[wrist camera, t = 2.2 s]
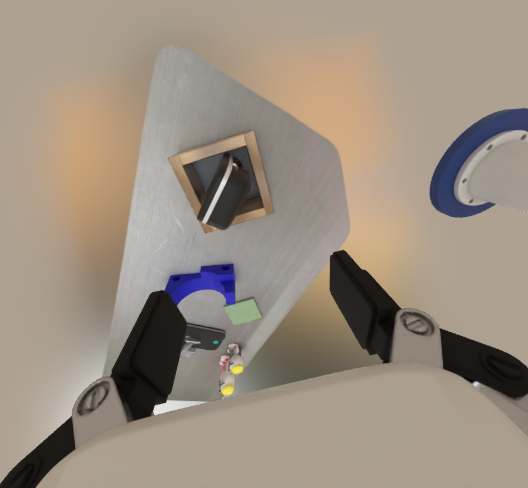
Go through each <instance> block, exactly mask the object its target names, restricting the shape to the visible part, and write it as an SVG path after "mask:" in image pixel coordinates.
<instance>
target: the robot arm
mask: <svg viewBox="0 0 528 488" xmlns="http://www.w3.org/2000/svg"><path fill="white" fill-rule="evenodd" d="M454 195H455V197H456V199H457V200H458V201H459V202H461V203H463V204H466V205H471V206H475V205H481V204H484V203H487V202H491V203H495V204H498V205H501V206H505V207H508V208H511V209H515V210H518V211H521V212H525V213H528V132H526V131H524V130H509V131H505V132H502V133H499V134H497V135H495V136H493V137H491V138H490V139H488V140H487V141H485V142H484V143H483V144H481V145H480V146H479V147H478V148H477V149H476V150H475V151H474V152H473V153H472V154H471V155H470V156H469V157H468V158H467V160H466V161H465V162H464V164H463V165H462V167H461V168H460V170H459V172H458V174H457V177H456V180H455V183H454ZM330 292H331V295H332V296H333V298H334V300H335V302H336V304H337V305H338V307H339V309H340V310H341V312H342V314H343V316H344V318H345V319H346V321H347V323H348V325H349V326H350V328H351V330H352V331H353V333H354V335H355V337H356V338H357V340H358V342H359V344H360V345H361V347H362V348H363V349H367V351H368V353H369V355H373V354H378V355H379V357H380V359H382V360H383V362H382V364H378V365H372V366H366V367H361V368H357V369H352V370H347V371H342V372H337V373H333V374H328V375H324V376H320V377H316V378H311V379H306V380H302V381H298V382H293V383H289V384H285V385H280V386H276V387H272V388H267V389H264V390H259V391H254V392H250V393H246V394H242V395H237V396H233V397H229V398H224V399H220V400H216V401H212V402H208V403H203V404H200V405H195V406H191V407H187V408H183V409H178V410H175V411H170V412H166V413H162V414H159V415H154V413H153V410H154V406H155V405H158V404H163V403H166V401H167V397H168V395H169V394H170V393H171V391H172V387H173V383H174V379H175V375H176V370H177V366H178V362H179V358H180V354H181V349H182V345H183V341H184V337H185V333H186V328H187V322H186V320H185V318H184V317H183V315H182V314H181V312H180V311H179V309H178V308H177V306H176V304H175V303H174V301H173V300H172V298H171V297H170V295H169V293H168V292H165V291H163V290H161V291H156V292H152V293H151V294H150V295H149V297H148V299H147V301H146V303H145V305H144V307H143V309H142V311H141V313H140V315H139V317H138V319H137V321H136V323H135V325H134V327H133V329H132V331H131V333H130V335H129V337H128V339H127V341H126V343H125V345H124V347H123V349H122V351H121V353H120V355H119V357H118V359H117V361H116V363H115V365H114V367H113V369H112V374H111V376H110V377H103V378H100V379H98V380H96V381H95V382H93V383H92V384H90V385H89V386H88V387H87V388H86V389H85V390H84V391H83V392H82V394H81V395H80V396H79V397H78V399H77V401H76V402H75V404H74V407H73V409H72V416H71V417H70V418H69V419H68V420H67V421H66V422H65V423H64V424H62V425H61V426H60V427H59V428H58V429H57V430H56V431H54V433H52V434H51V435H50V436H49V437H48V438H47V439H45V440H44V441H43V442H42V443H41V444H40V445H38V446H37V447H36V448H35V449H34V450H33V451H32V452H31V453H30V454H28V455H27V456H26V457H25V458H24V459H23V460H21V461H20V462H19V463H18V464H17V465H16V466H15V467H14V468H13V469H12V470H11V471H10V472H9V474H8V475H7V476H6V477H5V479H4V480H3V481H2V482H1V484H0V488H528V368H527V366H525V365H524V364H523V363H522V362H520V361H519V360H518V359H517V358H515V357H513V356H512V355H510V354H508V353H506V352H503V351H501V350H499V349H496V348H493V347H491V346H488V345H485V344H482V343H479V342H477V341H474V340H471V339H468V338H466V337H463V336H460V335H457V334H454V333H452V332H449V331H446V330H443V329H440V328H439V325H438V324H437V322H436V321H435V320H434V319H433V318H432V317H431V316H430V315H428V314H426V313H425V312H423V311H420V310H417V309H412V308H404V309H401V308H400V307H399V306H398V305H397V304H396V302H395V301H394V300H393V299H392V298H391V297H390V296H389V295H388V294H387V293H386V292H385V290H384V289H383V288H382V287H381V286H380V285H379V284H378V283H377V282H376V281H375V279H374V278H373V277H372V276H371V275H370V274H369V273H368V272H367V271H366V270H362V269H361V268H360V267H359V266H358V265H357V264H356V263H355V262H354V260H353V259H352V258H351V257H350V256H349V255H348V254H347V252H346V251H344V250H341V251H336V252H333V255H331V256H330Z"/></svg>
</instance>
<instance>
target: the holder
mask: <svg viewBox="0 0 528 488" xmlns="http://www.w3.org/2000/svg"><path fill="white" fill-rule="evenodd" d="M243 146H246V148H247V151H248V155H249V158H250V162H251V165H252V169H253V172H254V176H255V179H256V183H257V187H258V190H259V194H260V197H257V198H254V199H251V200H247V201H244V202H243V204H242V206H241V207H240V209H239V211H238V213H237V215H236V216H235V218H234V220H233V222H232V224H231V225H235V224H238V223H241V222H245V221H248V220H251V219H255V218H258V217H261V216H265V215H268V214H271V213H274V209H273V205H272V201H271V197H270V193H269V189H268V185H267V181H266V177H265V173H264V170H263V166H262V162H261V158H260V154H259V150H258V146H257V142H256V138H255V134H254V131H252V130H249V131H246V132H243V133H240V134H237V135H234V136H230V137H227V138H224V139H221V140H218V141H214V142H211V143H208V144H205V145H202V146H199V147H195V148H192V149H189V150H186V151H183V152H180V153H177V154H175V155H173V156H171V157H169V158H168V160H169V162H170V164H171V166H172V168H173V170H174V172H175V174H176V176H177V178H178V180H179V182H180V184H181V186H182V188H183V190H184V192H185V194H186V196H187V198H188V200H189V202H190V204H191V206H192V208H193V210H194V212H195V214H196V216H197V215H198V213H199V210H200V208H201V205H202V203H203V201H204V198H205V196H206V194H205V191H204V189H203V187H202V185H201V182H200V180H199V178H198V176H197V173H196V171H195V169H194V167H193V164H192V162H195V161H198V160H202V159H205V158H208V157H211V156H214V155H218V154H221V153H224V152H227V151H230V150H234V149H237V148H240V147H243ZM199 222H200V224H201V226H202V228H203V230H204V232H205V233H208V232H211V231H215V230H218V229H217V228H215V227H213V226H210V225H208V224H203V223H202V222H201V221H199ZM231 225H230V226H231Z"/></svg>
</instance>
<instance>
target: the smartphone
mask: <svg viewBox="0 0 528 488" xmlns="http://www.w3.org/2000/svg"><path fill="white" fill-rule="evenodd" d="M186 336H189V337H190V338H193V339H197V340H200V343H198V344H194V343H192V342H190V343H192V344H193V345H192V346H191V347H192V348H199V349H205V350H216V349H217V348H218V347H219V346H220V344H221V343H222V341H223V340H224V338H225V332H223V331H221V330H217V329H212V328H207V327H201V326H196V325H191V324H187V328H186V333H185V337H184V341H183V345H182V346H184V345H185V344H186V343H188V342H186V341H185V339H186ZM188 345H189V343H188V344H187V346H188ZM187 346H186V347H187Z"/></svg>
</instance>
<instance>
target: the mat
mask: <svg viewBox="0 0 528 488" xmlns="http://www.w3.org/2000/svg"><path fill="white" fill-rule="evenodd" d="M224 309H225V311H226V312H227V314H228V316H229V318H230V319H231V321H232V323H233V324H234V326H235V325H239V324H242V323H246V322H249V321H253V320H257V319H260V318H262V315H261V313H260V311H259V308H258V306H257V304H256V301H255V299H254V297H252V298H248V299H245V300H241V301H238V302H235V304H232V305H224Z"/></svg>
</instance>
